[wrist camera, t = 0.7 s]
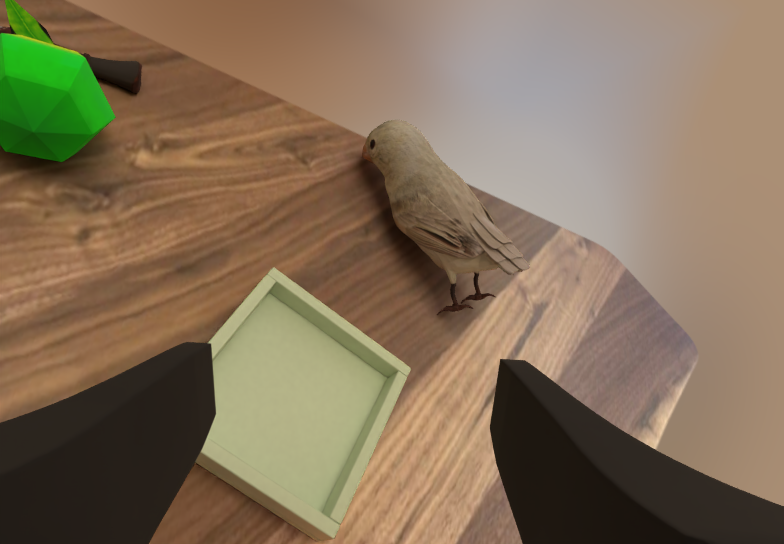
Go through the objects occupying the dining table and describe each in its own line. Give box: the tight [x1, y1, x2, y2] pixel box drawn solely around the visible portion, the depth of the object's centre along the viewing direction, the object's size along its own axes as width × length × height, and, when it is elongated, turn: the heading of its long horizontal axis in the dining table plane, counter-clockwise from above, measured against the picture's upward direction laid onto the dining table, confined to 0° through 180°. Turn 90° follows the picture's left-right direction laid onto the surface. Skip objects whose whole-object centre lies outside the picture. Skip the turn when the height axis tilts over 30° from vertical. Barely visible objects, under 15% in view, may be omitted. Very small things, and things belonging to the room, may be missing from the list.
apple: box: [0, 0, 116, 162], centre depth 25 cm, size 7×6×9 cm
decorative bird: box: [362, 120, 530, 315], centre depth 35 cm, size 5×16×8 cm, turn 35°
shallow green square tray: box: [195, 267, 411, 542], centre depth 26 cm, size 10×10×2 cm
